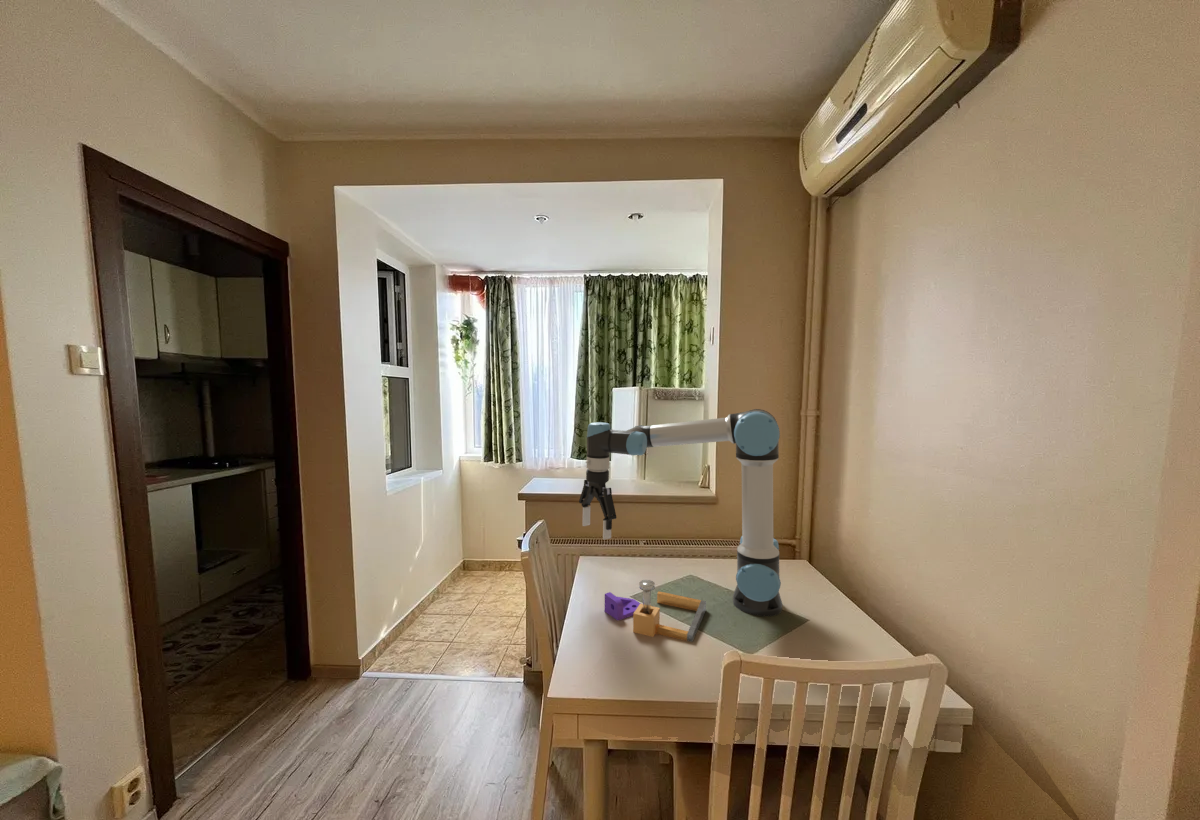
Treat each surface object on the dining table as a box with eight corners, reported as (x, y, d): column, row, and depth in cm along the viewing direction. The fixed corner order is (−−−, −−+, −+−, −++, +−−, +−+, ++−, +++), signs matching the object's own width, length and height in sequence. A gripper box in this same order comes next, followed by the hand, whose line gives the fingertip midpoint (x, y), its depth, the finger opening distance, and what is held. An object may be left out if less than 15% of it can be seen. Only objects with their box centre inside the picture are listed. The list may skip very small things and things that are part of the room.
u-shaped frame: (705, 611, 138) (706, 601, 138) (692, 647, 120) (692, 635, 120) (658, 601, 145) (658, 591, 144) (638, 634, 126) (638, 622, 126)
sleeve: (659, 630, 128) (659, 607, 127) (653, 642, 123) (653, 618, 122) (639, 625, 130) (640, 603, 130) (633, 636, 125) (633, 613, 124)
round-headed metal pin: (656, 611, 127) (656, 581, 126) (651, 619, 123) (652, 588, 122) (641, 608, 129) (642, 578, 128) (636, 616, 125) (637, 585, 124)
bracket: (617, 625, 131) (618, 603, 131) (604, 614, 137) (604, 593, 136) (647, 613, 138) (648, 592, 138) (634, 603, 144) (634, 583, 143)
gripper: (570, 463, 153) (569, 521, 155) (608, 478, 132) (606, 547, 134) (588, 461, 157) (587, 518, 159) (628, 476, 136) (626, 542, 137)
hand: (596, 531), depth 146 cm, fingers open, 13 cm apart
